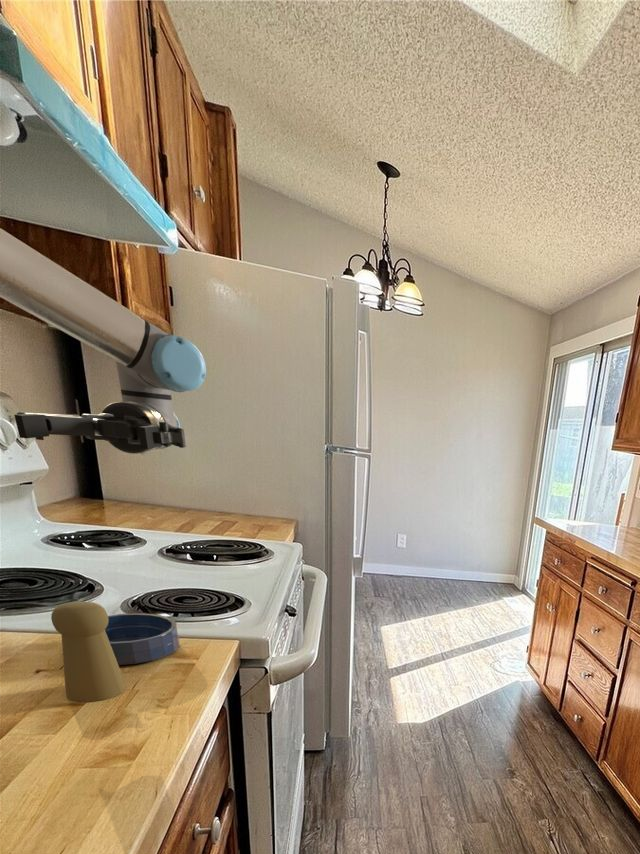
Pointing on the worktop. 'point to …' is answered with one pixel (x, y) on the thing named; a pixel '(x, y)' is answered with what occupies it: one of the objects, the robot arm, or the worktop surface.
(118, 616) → the bowl
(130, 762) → the worktop surface
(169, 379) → the robot arm
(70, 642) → the cork
